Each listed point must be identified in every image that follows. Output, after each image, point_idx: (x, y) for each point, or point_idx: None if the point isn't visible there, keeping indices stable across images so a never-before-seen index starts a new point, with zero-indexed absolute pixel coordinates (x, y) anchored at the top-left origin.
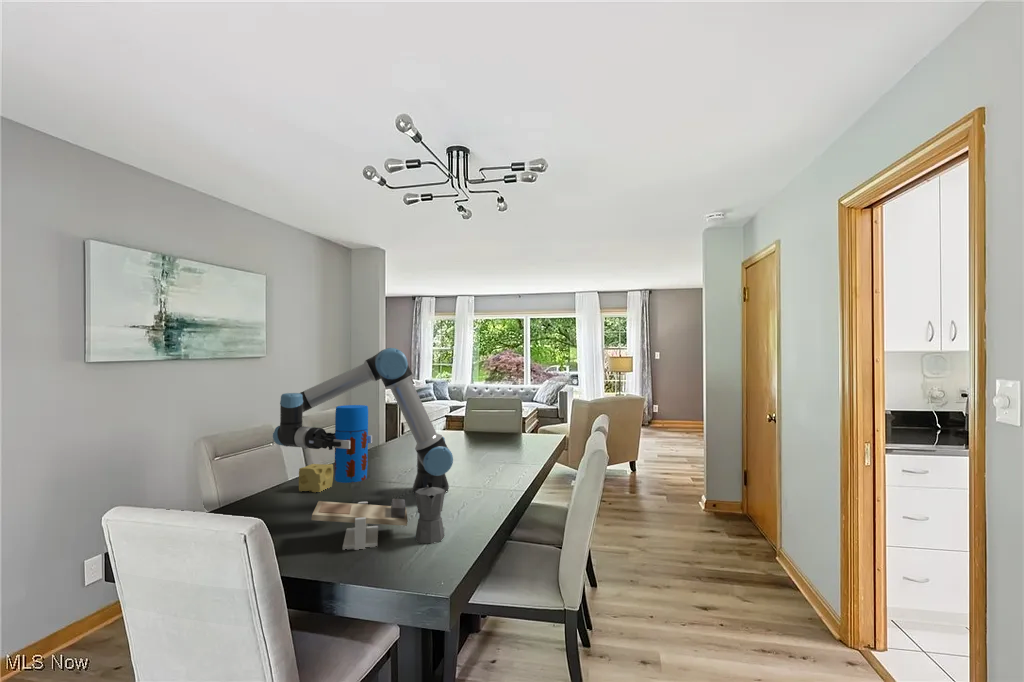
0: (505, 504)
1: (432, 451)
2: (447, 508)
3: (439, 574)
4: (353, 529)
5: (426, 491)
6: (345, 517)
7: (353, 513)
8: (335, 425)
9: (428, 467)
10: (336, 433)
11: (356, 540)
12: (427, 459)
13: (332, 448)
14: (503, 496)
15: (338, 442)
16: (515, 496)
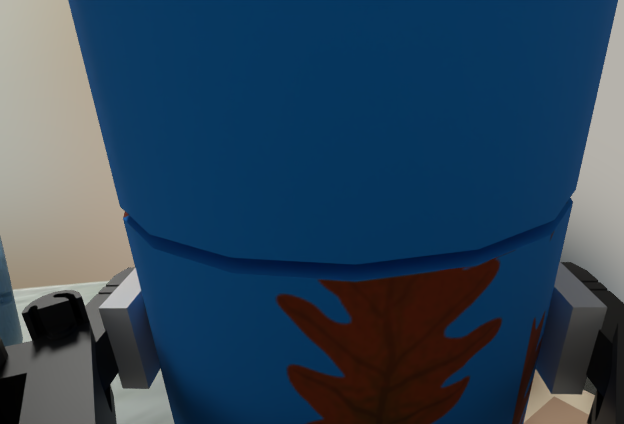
0: (96, 293)
1: (4, 255)
2: (114, 382)
3: None
4: None
5: None
6: (584, 392)
7: (532, 396)
8: (577, 129)
9: (20, 329)
10: (563, 232)
11: None
12: (10, 299)
13: (592, 408)
14: (17, 312)
15: (573, 264)
16: (27, 294)
